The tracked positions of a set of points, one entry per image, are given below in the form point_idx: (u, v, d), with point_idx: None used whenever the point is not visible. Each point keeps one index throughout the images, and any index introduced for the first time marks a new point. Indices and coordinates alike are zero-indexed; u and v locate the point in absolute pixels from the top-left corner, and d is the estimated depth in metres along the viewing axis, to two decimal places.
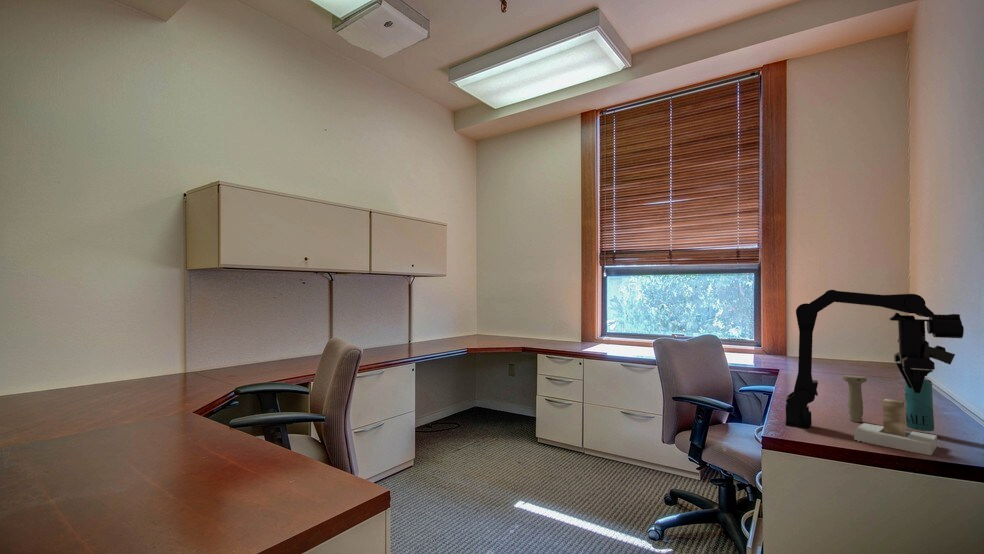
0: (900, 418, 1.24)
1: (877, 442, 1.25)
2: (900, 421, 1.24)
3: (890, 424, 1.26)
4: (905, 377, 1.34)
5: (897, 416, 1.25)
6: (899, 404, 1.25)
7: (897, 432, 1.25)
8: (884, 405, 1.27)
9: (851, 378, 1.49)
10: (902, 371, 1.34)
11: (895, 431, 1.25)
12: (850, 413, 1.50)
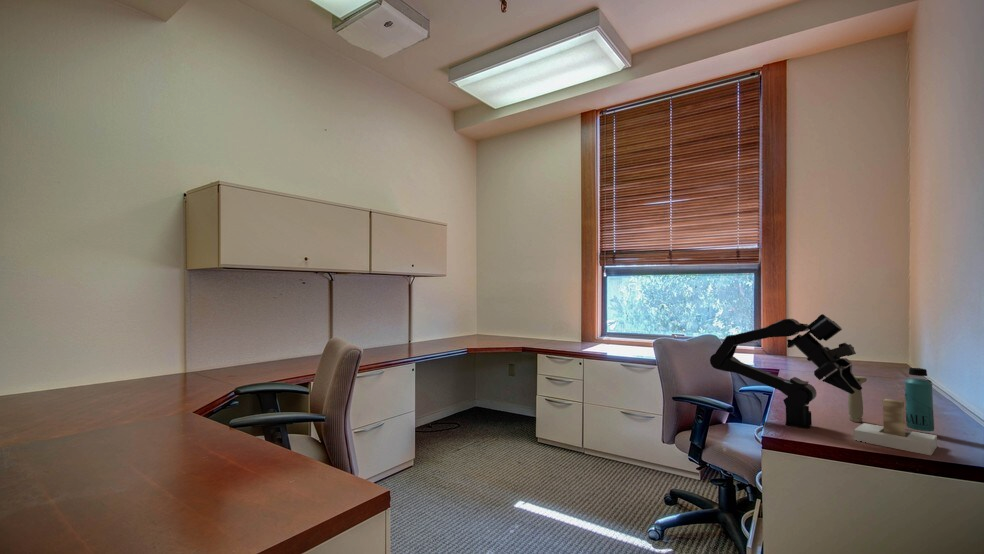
0: (900, 418, 1.24)
1: (877, 442, 1.25)
2: (900, 421, 1.24)
3: (890, 424, 1.26)
4: (848, 383, 1.39)
5: (897, 416, 1.25)
6: (899, 404, 1.25)
7: (897, 432, 1.25)
8: (884, 405, 1.27)
9: None
10: None
11: (895, 431, 1.25)
12: (850, 413, 1.50)
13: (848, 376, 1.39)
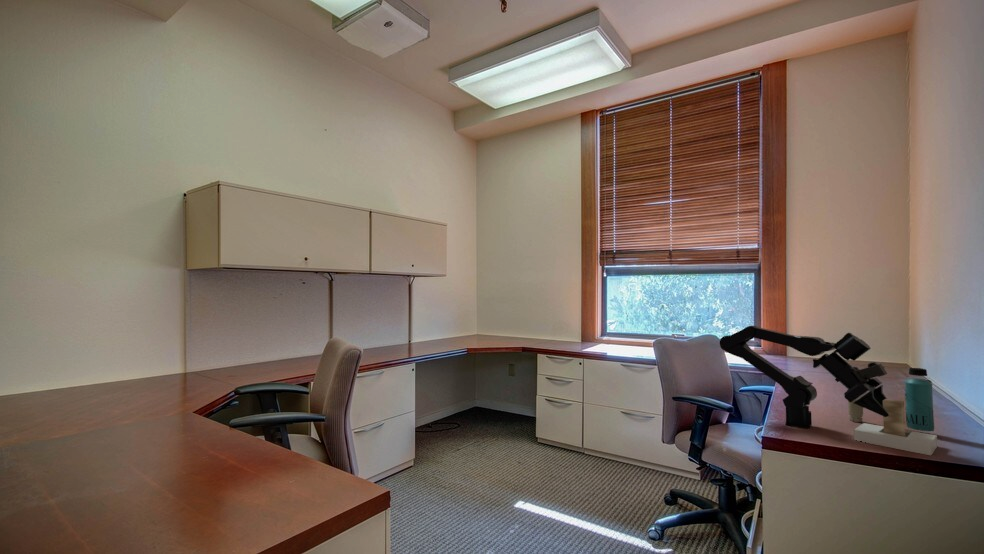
0: (900, 418, 1.24)
1: (877, 442, 1.25)
2: (900, 421, 1.24)
3: (890, 424, 1.26)
4: (880, 405, 1.33)
5: (897, 416, 1.25)
6: (899, 404, 1.25)
7: (897, 432, 1.25)
8: (884, 405, 1.27)
9: None
10: None
11: (895, 431, 1.25)
12: (850, 413, 1.50)
13: (879, 397, 1.33)
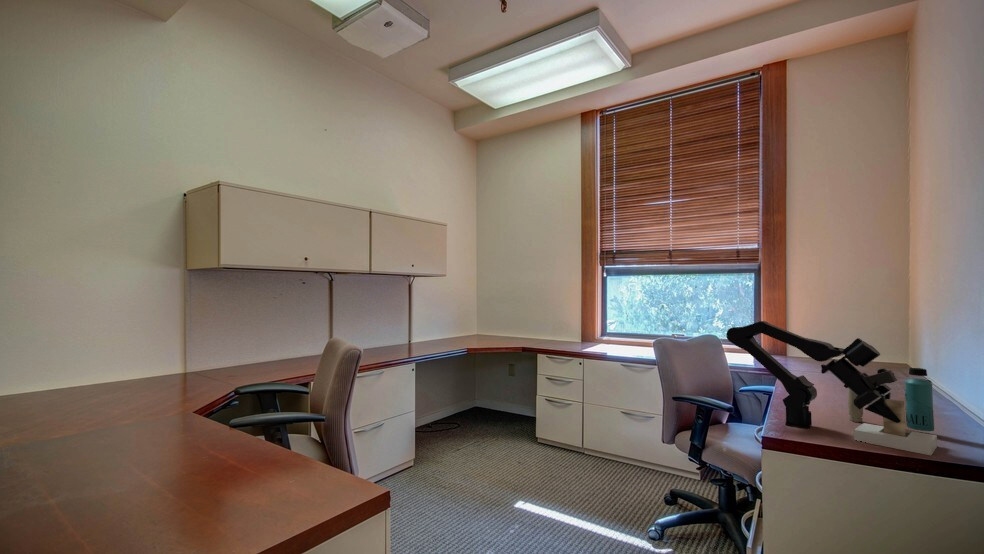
0: (900, 418, 1.24)
1: (877, 442, 1.25)
2: (900, 421, 1.24)
3: (891, 424, 1.26)
4: None
5: (897, 415, 1.25)
6: (899, 404, 1.25)
7: (897, 432, 1.25)
8: None
9: None
10: None
11: (895, 431, 1.25)
12: (850, 413, 1.50)
13: None
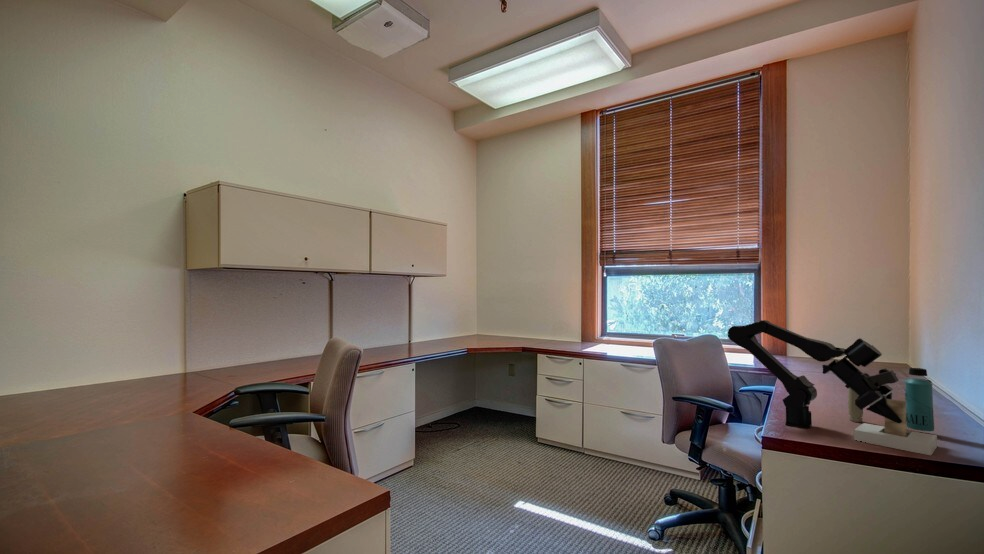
0: (901, 418, 1.24)
1: (877, 442, 1.25)
2: None
3: (892, 424, 1.26)
4: None
5: None
6: (901, 404, 1.24)
7: (898, 432, 1.25)
8: None
9: None
10: None
11: (896, 431, 1.25)
12: (850, 413, 1.50)
13: None
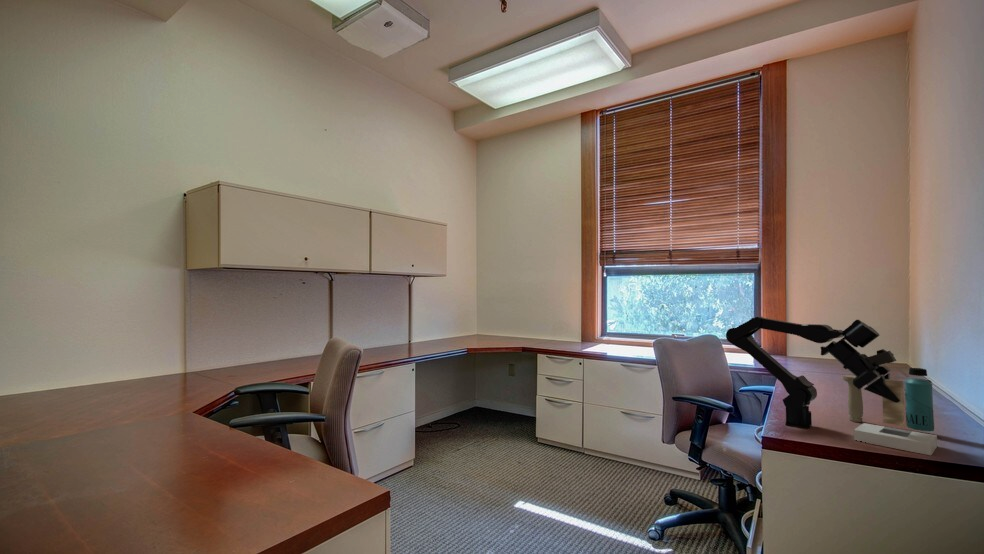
0: (899, 397, 1.25)
1: (877, 442, 1.25)
2: None
3: (890, 403, 1.26)
4: None
5: (896, 395, 1.25)
6: (898, 384, 1.25)
7: (895, 412, 1.25)
8: None
9: (851, 378, 1.49)
10: None
11: (894, 410, 1.25)
12: (850, 413, 1.50)
13: None
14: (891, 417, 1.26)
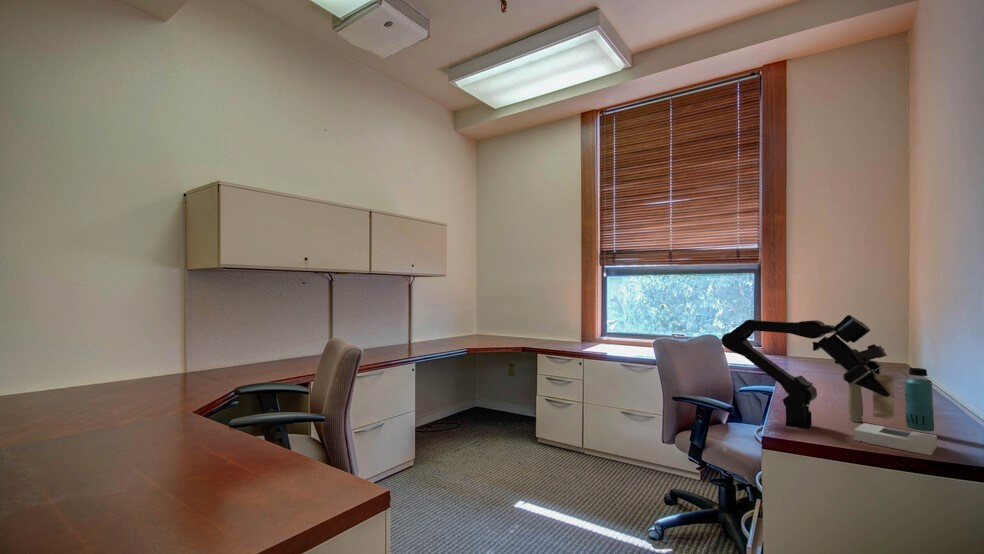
0: (889, 392, 1.26)
1: (877, 442, 1.25)
2: (889, 395, 1.26)
3: (880, 398, 1.28)
4: None
5: (886, 389, 1.27)
6: (888, 378, 1.27)
7: (886, 406, 1.27)
8: None
9: None
10: None
11: (884, 404, 1.27)
12: (850, 413, 1.50)
13: None
14: (881, 411, 1.28)
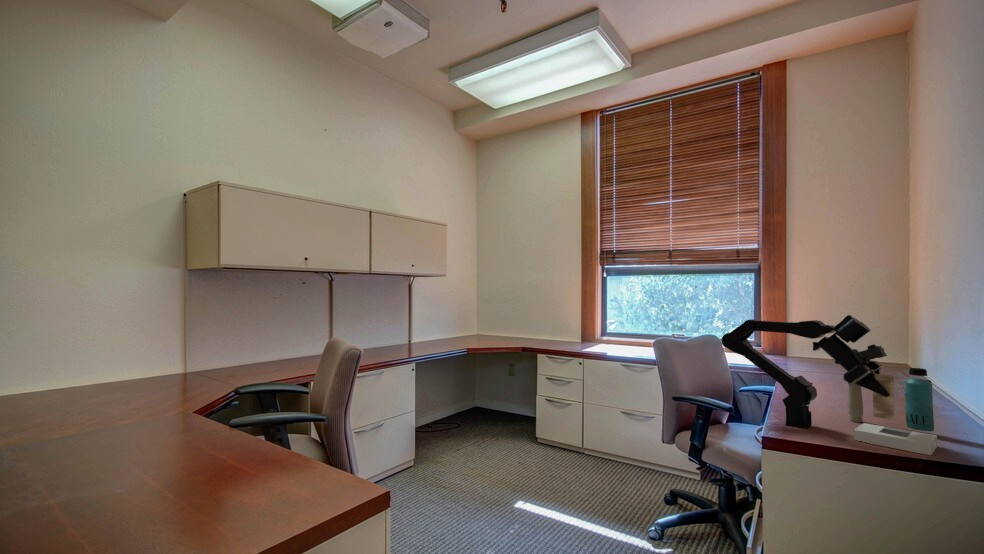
0: (889, 392, 1.26)
1: (877, 442, 1.25)
2: (889, 395, 1.26)
3: (880, 398, 1.28)
4: None
5: (886, 389, 1.27)
6: (888, 378, 1.27)
7: (886, 406, 1.27)
8: None
9: None
10: None
11: (884, 404, 1.27)
12: (850, 413, 1.50)
13: None
14: (881, 411, 1.28)
